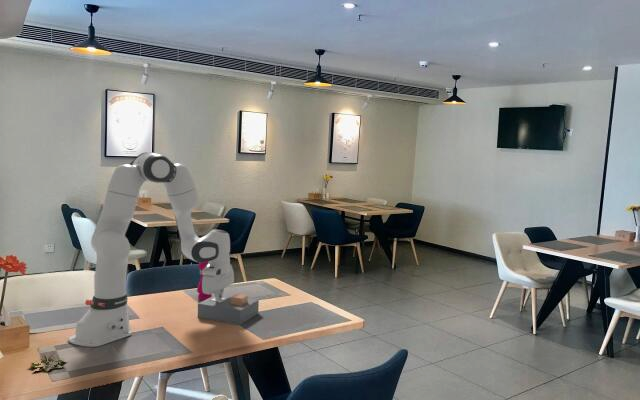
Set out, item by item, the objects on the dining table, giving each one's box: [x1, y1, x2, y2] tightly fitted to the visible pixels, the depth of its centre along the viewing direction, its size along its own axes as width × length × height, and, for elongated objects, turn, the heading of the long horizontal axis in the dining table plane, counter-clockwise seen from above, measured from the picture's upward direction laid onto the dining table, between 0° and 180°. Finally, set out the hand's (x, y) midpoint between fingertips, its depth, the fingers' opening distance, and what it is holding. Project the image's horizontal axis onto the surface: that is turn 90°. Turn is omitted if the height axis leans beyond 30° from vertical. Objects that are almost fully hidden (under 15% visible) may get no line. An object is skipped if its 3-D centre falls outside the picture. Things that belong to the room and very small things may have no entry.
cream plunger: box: [210, 298, 227, 303], centre depth 219 cm, size 5×5×5 cm
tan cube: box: [231, 293, 249, 306], centre depth 215 cm, size 5×5×5 cm
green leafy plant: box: [29, 352, 65, 371], centre depth 163 cm, size 12×12×5 cm
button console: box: [197, 294, 260, 325], centre depth 217 cm, size 16×20×6 cm
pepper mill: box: [196, 261, 213, 301], centre depth 239 cm, size 7×7×20 cm
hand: (218, 299), depth 219 cm, fingers closed, pressing on cream plunger
